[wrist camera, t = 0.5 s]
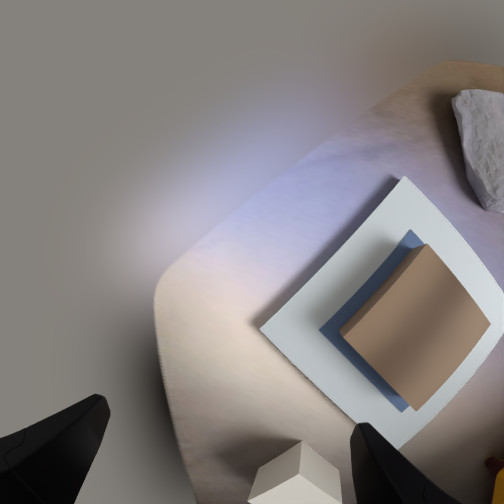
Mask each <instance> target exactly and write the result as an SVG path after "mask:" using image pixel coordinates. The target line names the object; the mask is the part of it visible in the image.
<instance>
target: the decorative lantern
mask: <svg viewBox="0 0 504 504" xmlns="http://www.w3.org/2000/svg"><path fill="white" fill-rule="evenodd" d="M485 466H486V468H487V469H488V471H489V472H490V474H491V476H492V489H491V496H490V502H489V504H504V460H500V459H498V458H496V457H494V456H489V457H488V458H487V459H486V461H485Z"/></svg>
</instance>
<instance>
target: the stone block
mask: <svg viewBox="0 0 504 504" xmlns="http://www.w3.org/2000/svg"><path fill="white" fill-rule="evenodd" d="M451 102H452V108H453V110H454V114H455V117H456V119H457V124H458V131H459V136H460V138H461V147H462V151H463V157H464V163H465V167H466V176H467V180H468V181H469V183H470V184H471V186H472V188H473V191H474V193H475V194H476V196H477V198H478V200H479V202H480V204H481V205H482V207H483V208H484V209H485V210H486V211H493V212H497V213H504V94H502V93H498V92H492V91H486V90H481V89H471V90H469V89H467V90H462V91H461V92H459V94H458V95H457V96H456V97H454V98H452V100H451Z"/></svg>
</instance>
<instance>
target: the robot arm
mask: <svg viewBox="0 0 504 504" xmlns="http://www.w3.org/2000/svg"><path fill="white" fill-rule="evenodd" d="M109 418H110V409H109V406H108V403H107V400H106V398H105V397H104V396H102V395H98V394H93V395H91V396H89V397H87V398H85V399H83V400H82V401H80V402H78V403H76V404H74V405H72V406H70V407H68V408H66V409H64V410H62V411H60V412H58V413H56V414H54V415H52V416H50V417H47V418H45V419H43V420H41V421H39V422H37V423H35V424H33V425H31V426H29V427H27V428H24V429H22V430H20V431H17V432H15V433H13V434H10V435H8V436H5V437H2V438H0V504H74V503H75V500H76V498H77V496H78V493H79V491H80V489H81V487H82V484H83V482H84V480H85V478H86V475H87V473H88V471H89V469H90V467H91V464H92V462H93V460H94V458H95V456H96V454H97V452H98V449H99V447H100V445H101V442H102V439H103V436H104V432H105V430H106V427H107V424H108V421H109ZM350 448H351V463H352V477H353V483H354V488H355V494H356V499H357V504H462V503H460V502H459V501H457V500H455V499H454V498H452V497H451V496H450V495H448V494H447V493H445V492H444V491H443V490H441V489H440V488H439V487H438V486H437V485H435V484H434V483H433V482H432V481H431V480H430V479H429V478H427V477H426V476H425V475H424V474H423V473H422V472H421V471H420V470H419V469H417V468H416V467H415V466H414V465H413V464H412V463H411V462H410V461H409V460H408V459H407V458H406V457H404V456H403V455H402V454H401V453H400V452H399V451H398V450H397V449H396V448H395V447H394V446H393V445H392V444H391V443H390V442H389V441H387V440H386V439H385V438H384V437H383V436H382V435H381V434H380V433H379V432H378V431H377V430H376V429H375V428H374V427H373V426H372V425H371V424H370V423H368V422H362V423H357V424H356V426H355V428H354V431H353V433H352V435H351V438H350Z"/></svg>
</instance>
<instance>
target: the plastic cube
mask: <svg viewBox="0 0 504 504" xmlns="http://www.w3.org/2000/svg"><path fill="white" fill-rule="evenodd" d="M247 501H248V502H249V503H251V504H342V495H341V485H340V475H339V470H338V469H337V468H336V467H334V466H333V465H332V464H330V463H329V462H328V461H327V460H325V459H324V458H323V457H322V456H320V455H319V454H318V453H317V452H315V451H314V450H313V449H312V448H311V447H309V446H308V445H307V444H306V443H305V442H303V441H300V442H299V443H298V444H296V445H295V446H293V447H292V448H290V449H289V450H287V451H286V452H284V453H282V454H281V455H279V456H278V457H276V458H275V459H273V460H271V461H270V462H268V463H266V464H265V465H263V466H261V467H260V468H259V469H258V472H257V475H256V478H255V481H254V484H253V486H252V489H251V492H250V495H249V498H248V500H247Z"/></svg>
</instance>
